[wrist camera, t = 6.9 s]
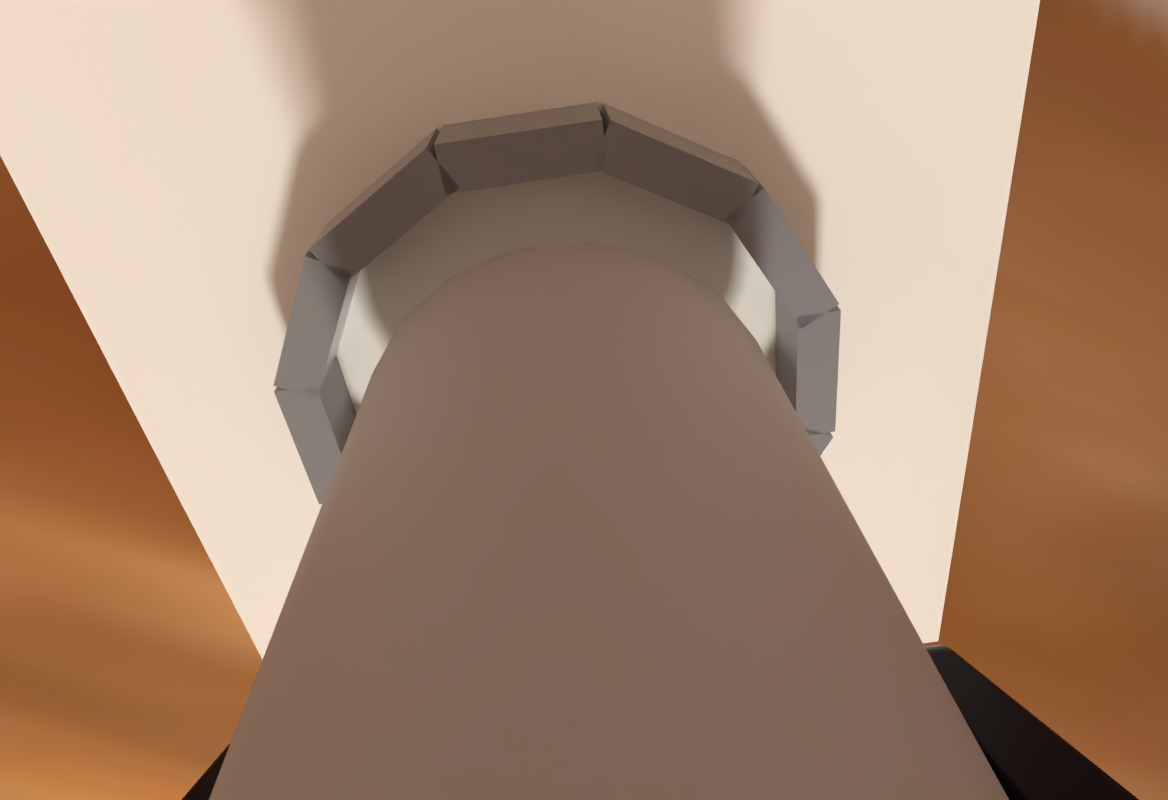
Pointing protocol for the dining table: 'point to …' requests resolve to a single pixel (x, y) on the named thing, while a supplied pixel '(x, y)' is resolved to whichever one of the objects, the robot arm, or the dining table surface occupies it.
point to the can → (590, 572)
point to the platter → (519, 216)
